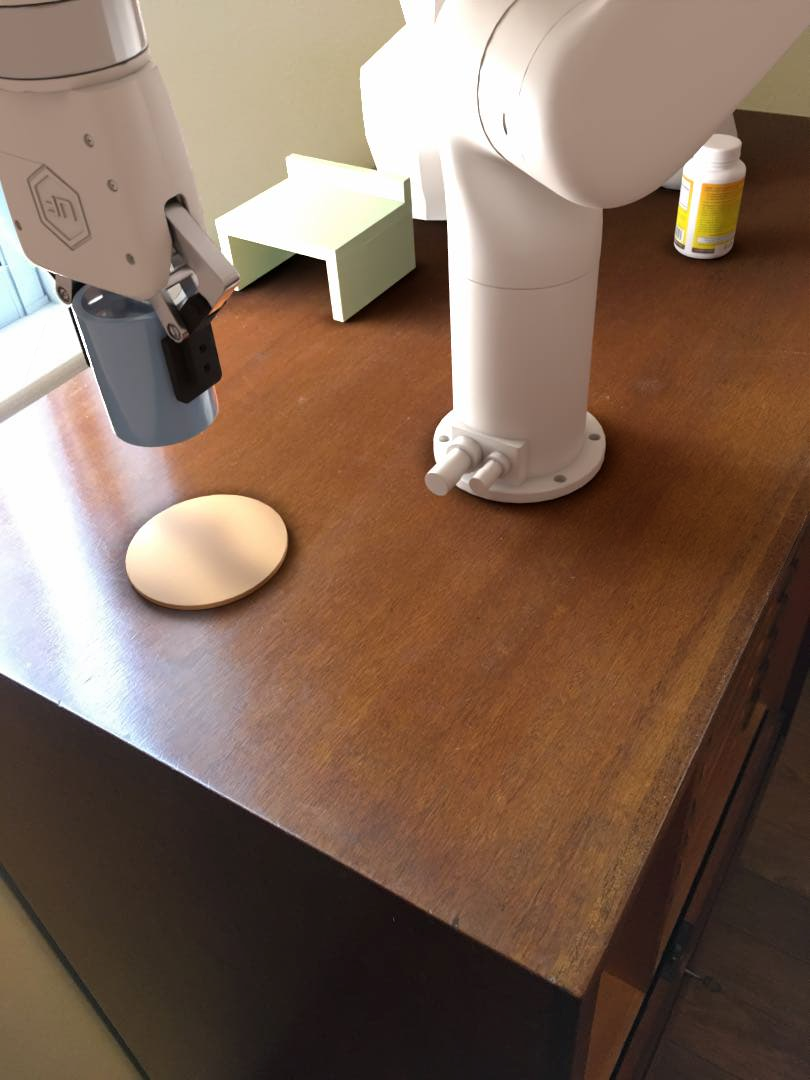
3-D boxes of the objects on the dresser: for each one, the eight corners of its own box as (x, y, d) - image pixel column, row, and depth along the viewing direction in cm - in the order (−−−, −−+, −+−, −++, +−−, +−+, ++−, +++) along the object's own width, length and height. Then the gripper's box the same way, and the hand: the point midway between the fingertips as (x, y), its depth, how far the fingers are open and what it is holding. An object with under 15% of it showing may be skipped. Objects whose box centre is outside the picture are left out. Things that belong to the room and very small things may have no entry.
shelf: (343, 322, 85) (332, 228, 79) (229, 288, 91) (210, 198, 85) (416, 267, 92) (410, 176, 86) (305, 239, 98) (292, 153, 92)
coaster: (213, 634, 58) (211, 630, 58) (92, 571, 63) (90, 567, 63) (320, 530, 64) (320, 526, 64) (204, 481, 69) (202, 476, 69)
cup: (166, 460, 53) (129, 334, 47) (89, 427, 55) (46, 305, 50) (241, 403, 56) (215, 281, 51) (165, 375, 59) (133, 256, 54)
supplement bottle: (743, 247, 91) (764, 140, 84) (707, 267, 88) (726, 158, 81) (696, 230, 94) (713, 126, 87) (660, 249, 92) (674, 142, 85)
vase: (510, 182, 106) (513, -79, 89) (487, 238, 96) (486, -44, 79) (389, 178, 109) (370, -75, 92) (355, 231, 99) (326, -41, 82)
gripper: (-127, 34, 43) (6, 365, 56) (133, 81, 36) (222, 453, 48) (3, -5, 48) (101, 310, 60) (260, 29, 40) (312, 382, 52)
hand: (154, 371), depth 54 cm, fingers closed on cup, 6 cm apart
